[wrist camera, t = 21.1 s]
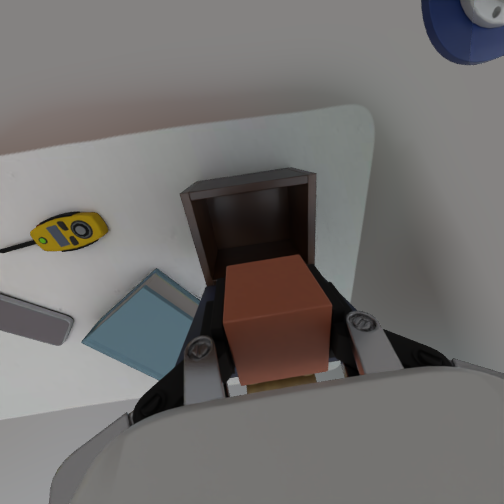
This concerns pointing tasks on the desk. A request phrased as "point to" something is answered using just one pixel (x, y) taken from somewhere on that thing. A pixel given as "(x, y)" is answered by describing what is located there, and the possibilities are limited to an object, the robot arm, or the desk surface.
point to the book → (147, 326)
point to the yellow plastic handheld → (66, 232)
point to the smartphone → (33, 321)
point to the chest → (251, 218)
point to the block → (276, 320)
